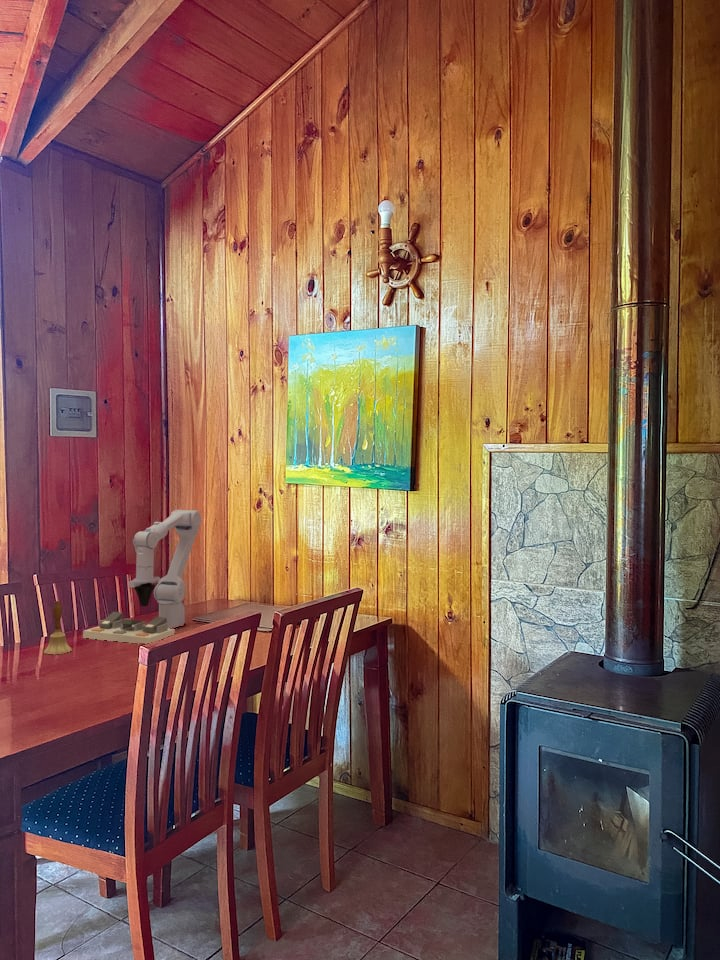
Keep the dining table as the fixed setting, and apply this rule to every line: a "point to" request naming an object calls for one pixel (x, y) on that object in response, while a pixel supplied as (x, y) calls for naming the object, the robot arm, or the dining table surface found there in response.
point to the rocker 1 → (111, 620)
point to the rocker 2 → (154, 624)
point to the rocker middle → (130, 621)
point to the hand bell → (57, 635)
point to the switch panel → (128, 633)
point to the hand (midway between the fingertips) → (144, 605)
